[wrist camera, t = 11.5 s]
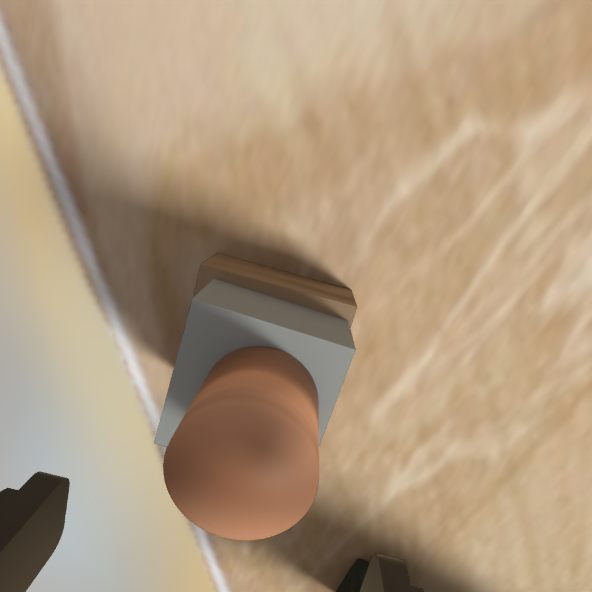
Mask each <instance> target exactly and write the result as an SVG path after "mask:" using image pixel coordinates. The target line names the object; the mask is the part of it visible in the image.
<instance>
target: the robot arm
mask: <svg viewBox="0 0 592 592" xmlns="http://www.w3.org/2000/svg"><path fill="white" fill-rule="evenodd" d="M69 484H70V483H69V479H68V478H64V477H60V476H56V475H51V474H48V473H44V472H37V473H35V474H34V475H33V476H32V477H31V478H30V479H29V480H28V481H27V482H26V483H25V484H24V485H23V486H22V487H21V488H20V489H19V490H15V489H11V488H6V489H4V490H3V491H1V492H0V592H26V590H27V589H28V587H29V586H30V585H31V583H32V582H33V580H34V579H35V577H36V576H37V575H38V573H39V572H40V570H41V569H42V568H43V566H44V565H45V564H46V562H47V561H48V559H49V558H50V557H51V555H52V554H53V552H54V550H55V549H56V547H57V545H58V543H59V540H60V538H61V535H62V532H63V529H64V523H65V515H66V508H67V500H68V493H69ZM360 592H424V590H423V589H422V588H417V587H413V586H411V585H410V580H409V576H408V572H407V567H406V564H405V562H404V561H403V560H400V559H396V558H392V557H387V556H383V555H379V554H374V555H373V556H372V558H371V561H370V564H369V567H368V570H367V572H366V575H365V578H364V581H363V584H362V586H361V589H360Z"/></svg>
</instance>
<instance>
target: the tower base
mask: <svg viewBox="0 0 592 592" xmlns="http://www.w3.org/2000/svg"><path fill="white" fill-rule="evenodd" d="M213 279H217V280H221V281H224V282H227V283H230V284H233V285H236V286H240V287H243V288H246V289H249V290H252V291H255V292H258V293H262V294H265V295H268V296H271V297H274V298H277V299H281V300H284V301H287V302H290V303H293V304H296V305H299V306H303V307H306V308H309V309H312V310H315V311H318V312H322V313H325V314H328V315H331V316H334V317H337V318H340V319H344V320H347V321H349V325H350V328H351V325H352V322H353V318H354V315H355V312H356V309H357V305H356V302H355V299H354V296H353V293H352V290H350V289H347V288H343V287H339V286H336V285H332V284H328V283H325V282H321V281H317V280H314V279H310V278H306V277H303V276H299V275H296V274H292V273H288V272H285V271H281V270H277V269H274V268H270V267H266V266H263V265H259V264H255V263H252V262H248V261H245V260H241V259H237V258H234V257H230V256H226V255H223V254H219V253H216V254H215V255H213V256H212V257H210V258H209V259H207V260H206V261H204V262H203V263H202V264H201V265H200V269H199V274H198V278H197V283H196V288H195V292H194V297H195V296H196V295H197V294H198V293H199V292H200V291H201V290H202V289H203V288H204V287H205V286H207V285H208V284H209V283H210V282H211V281H212V280H213ZM194 297H193V298H194Z"/></svg>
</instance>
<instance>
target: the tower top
mask: <svg viewBox="0 0 592 592" xmlns="http://www.w3.org/2000/svg"><path fill="white" fill-rule="evenodd" d="M250 346H266V347H271V348H276V349H279V350H282V351H284V352H286V353H288V354H290V355H291V356H293V357H294V358H296V359H297V360H298V361H299V362H301V363H302V364H303V365H304V366H305V368H306V369H307V370H308V371H309V373H310V374H311V376H312V378H313V380H314V382H315V385H316V388H317V392H318V401H319V446H320V443H321V441H322V438H323V435H324V433H325V430H326V427H327V425H328V422H329V419H330V417H331V414H332V411H333V409H334V406H335V403H336V401H337V398H338V395H339V393H340V390H341V387H342V385H343V382H344V379H345V377H346V374H347V371H348V369H349V366H350V363H351V361H352V358H353V355H354V353H355V350H356V349H355V345H354V341H353V337H352V333H351V329H350V325H349V321H347V320H344V319H340V318H337V317H334V316H331V315H328V314H325V313H322V312H318V311H315V310H312V309H309V308H306V307H303V306H299V305H296V304H293V303H290V302H287V301H284V300H281V299H277V298H274V297H271V296H268V295H265V294H262V293H258V292H255V291H252V290H249V289H246V288H243V287H240V286H236V285H233V284H230V283H227V282H224V281H221V280H217V279H213V280H212V281H211V282H210V283H209V284H208V285H207V286H205V287H204V288H203V289H202V290H201V291H200V292H199V293H198V294H197V295H196V296H195V297H194V298H193V299H192V302H191V306H190V310H189V314H188V317H187V321H186V325H185V329H184V332H183V336H182V340H181V344H180V347H179V351H178V355H177V359H176V362H175V366H174V370H173V374H172V377H171V381H170V385H169V389H168V392H167V396H166V400H165V404H164V408H163V411H162V415H161V419H160V423H159V426H158V430H157V434H156V438H155V441H154V443H155V444H158V445H162V446H165V447H167V446H168V444H169V442H170V440H171V438H172V436H173V434H174V433H175V431H176V429H177V427H178V426H179V424H180V422H181V420H182V419H183V417H184V415H185V413H186V412H187V410H188V408H189V406H190V405H191V403H192V401H193V399H194V398H195V396H196V394H197V393H198V391H199V389H200V387H201V386H202V384H203V382H204V380H205V379H206V377H207V375H208V373H209V372H210V370H211V369H212V367H213V366H214V365H215V364H216V363H217V362H218V361H219V360H220V359H221V358H222V357H224V356H225V355H227V354H229V353H231V352H233V351H235V350H238V349H241V348H244V347H250Z"/></svg>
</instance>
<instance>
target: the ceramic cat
mask: <svg viewBox="0 0 592 592" xmlns="http://www.w3.org/2000/svg"><path fill="white" fill-rule="evenodd" d="M368 567H369V563H367V562H365V561H363V560H361V559H358V560H357V561H356V563H355V564H354V565H353V567H352V568H351V569H350V571H349V573H348V574H347V576H346V577H345V579H344V581H343V582H342V584H341V585H340V587H339V588H338V590H337V591H336V592H360V589H361V586H362V584H363V581H364V578H365V575H366V572H367V570H368Z"/></svg>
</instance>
